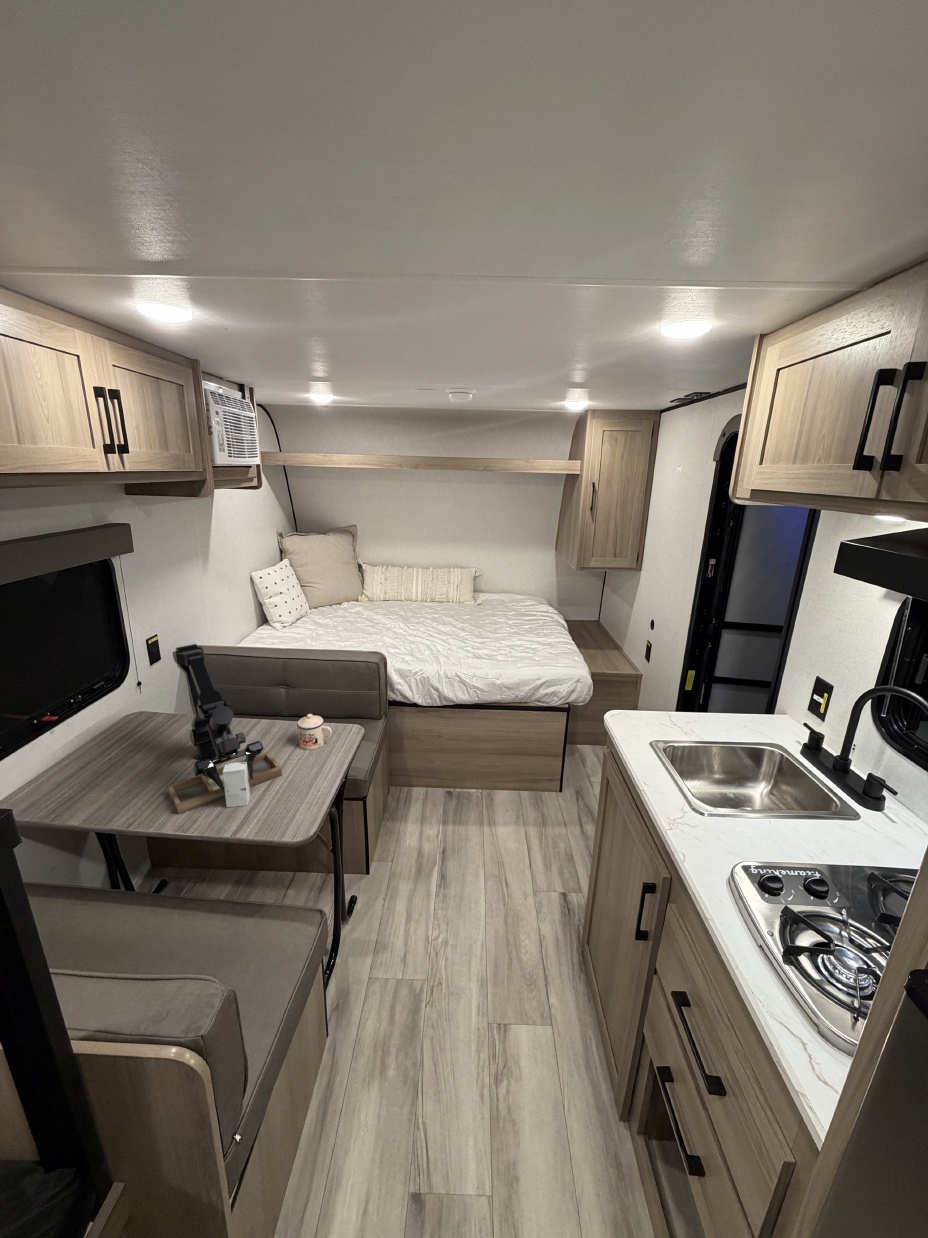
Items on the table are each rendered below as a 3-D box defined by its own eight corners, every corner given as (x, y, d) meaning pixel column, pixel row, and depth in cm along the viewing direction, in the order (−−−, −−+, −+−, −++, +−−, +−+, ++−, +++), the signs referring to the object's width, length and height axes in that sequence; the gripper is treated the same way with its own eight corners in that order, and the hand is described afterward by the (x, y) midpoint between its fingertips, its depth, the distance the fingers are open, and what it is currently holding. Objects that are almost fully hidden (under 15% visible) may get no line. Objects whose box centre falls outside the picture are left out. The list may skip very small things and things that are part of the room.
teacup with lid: (294, 750, 177) (292, 720, 174) (304, 737, 186) (302, 708, 183) (328, 751, 176) (326, 722, 173) (336, 738, 185) (334, 709, 182)
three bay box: (169, 794, 153) (167, 786, 152) (268, 759, 171) (267, 751, 171) (178, 814, 144) (177, 805, 143) (282, 775, 163) (281, 767, 162)
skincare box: (226, 808, 147) (220, 772, 143) (229, 798, 151) (224, 763, 148) (248, 805, 148) (244, 769, 145) (251, 796, 152) (246, 761, 149)
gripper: (189, 737, 140) (206, 789, 135) (257, 716, 152) (275, 764, 147) (186, 750, 148) (202, 800, 143) (251, 730, 160) (268, 776, 155)
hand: (238, 784), depth 147 cm, fingers open, 8 cm apart
